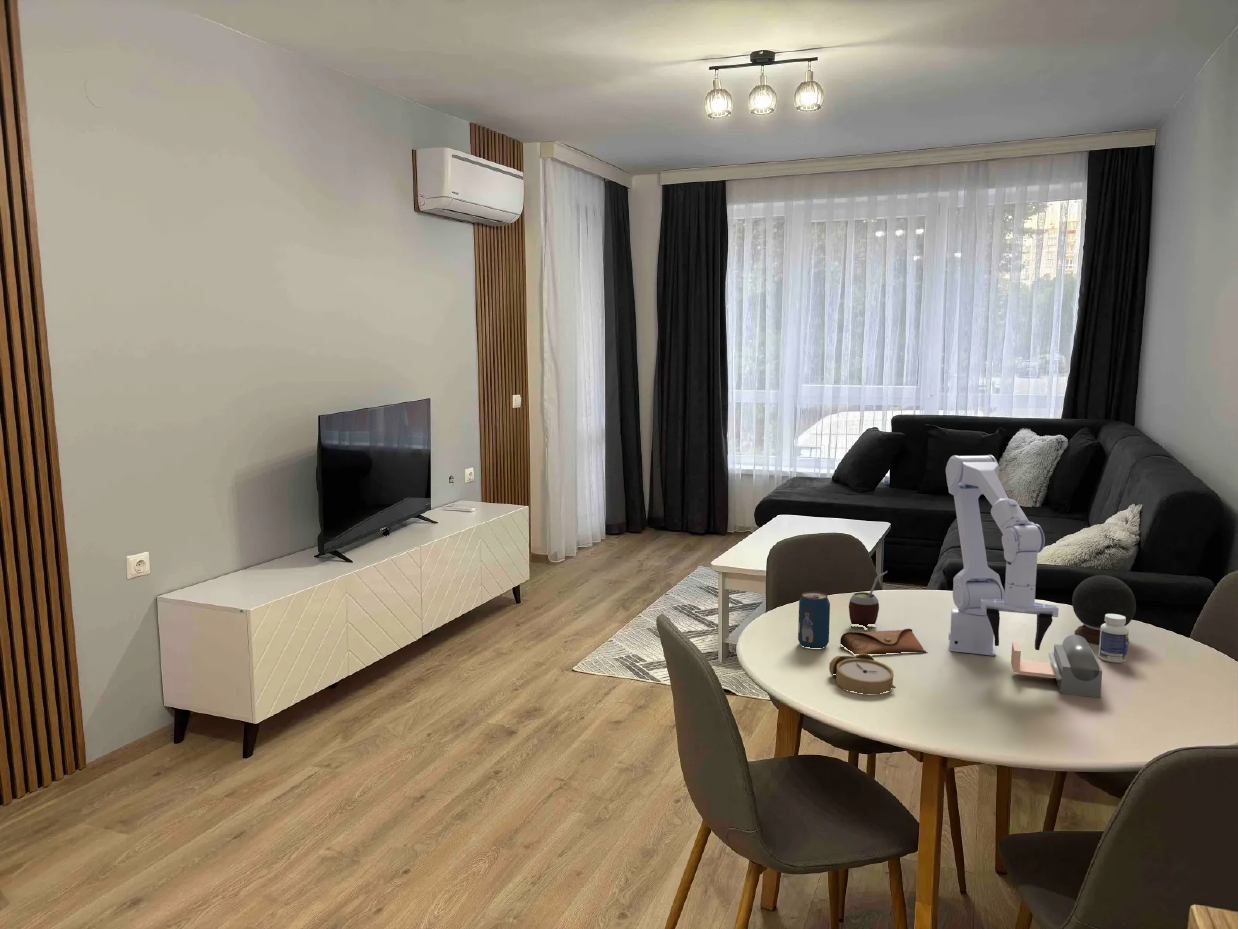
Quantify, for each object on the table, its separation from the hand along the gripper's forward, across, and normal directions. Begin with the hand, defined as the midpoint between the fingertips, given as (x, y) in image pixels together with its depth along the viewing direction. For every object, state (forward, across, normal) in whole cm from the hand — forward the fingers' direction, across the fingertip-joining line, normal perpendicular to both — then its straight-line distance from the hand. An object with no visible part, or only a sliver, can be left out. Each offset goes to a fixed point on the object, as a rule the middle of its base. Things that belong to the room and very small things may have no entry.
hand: (1016, 646), depth 186 cm
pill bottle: (+7, +21, +18) cm, 28 cm away
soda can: (+6, -42, +5) cm, 43 cm away
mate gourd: (+6, -32, +23) cm, 40 cm away
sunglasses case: (+7, -27, +8) cm, 29 cm away
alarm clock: (+7, -30, -14) cm, 34 cm away
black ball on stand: (+6, +21, +33) cm, 40 cm away
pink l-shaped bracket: (+5, +6, 0) cm, 8 cm away
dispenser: (+6, +11, 0) cm, 13 cm away
